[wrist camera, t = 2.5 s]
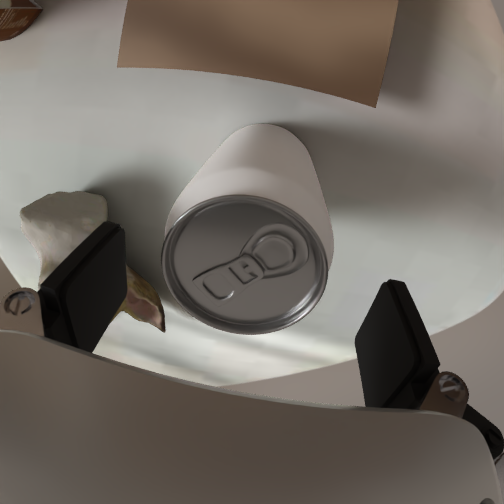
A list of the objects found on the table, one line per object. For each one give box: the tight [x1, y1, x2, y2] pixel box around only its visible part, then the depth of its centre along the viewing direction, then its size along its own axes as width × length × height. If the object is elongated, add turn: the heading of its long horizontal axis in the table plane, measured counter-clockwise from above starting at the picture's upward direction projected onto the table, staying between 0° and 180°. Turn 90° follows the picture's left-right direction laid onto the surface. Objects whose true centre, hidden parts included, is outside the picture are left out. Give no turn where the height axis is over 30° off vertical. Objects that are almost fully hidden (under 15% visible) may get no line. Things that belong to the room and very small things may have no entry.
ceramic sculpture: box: [20, 191, 166, 333], centre depth 22 cm, size 11×9×15 cm
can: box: [161, 124, 334, 335], centre depth 15 cm, size 6×6×12 cm
